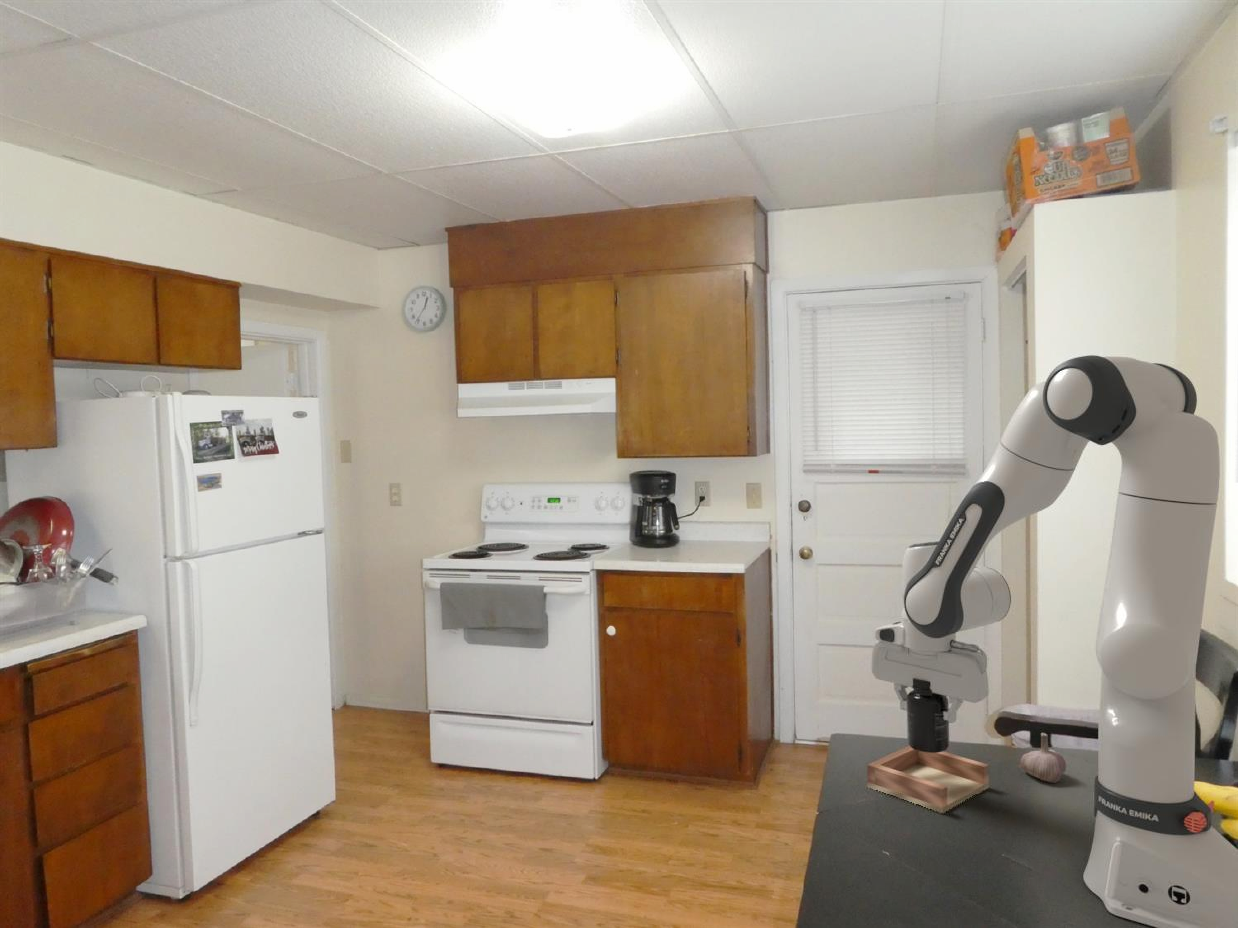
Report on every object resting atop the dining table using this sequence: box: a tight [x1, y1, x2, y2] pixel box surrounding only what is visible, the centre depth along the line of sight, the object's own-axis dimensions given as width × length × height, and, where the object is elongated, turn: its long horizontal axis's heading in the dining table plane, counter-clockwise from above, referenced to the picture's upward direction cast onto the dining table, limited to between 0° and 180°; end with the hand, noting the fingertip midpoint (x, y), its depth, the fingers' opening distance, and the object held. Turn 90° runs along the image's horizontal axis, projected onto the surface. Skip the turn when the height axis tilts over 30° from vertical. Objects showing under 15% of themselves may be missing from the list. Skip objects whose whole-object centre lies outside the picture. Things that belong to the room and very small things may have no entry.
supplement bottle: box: [906, 678, 950, 753], centre depth 153 cm, size 7×7×12 cm
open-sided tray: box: [866, 745, 990, 814], centre depth 153 cm, size 14×15×4 cm
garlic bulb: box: [1019, 732, 1067, 784], centre depth 157 cm, size 8×7×8 cm
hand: (927, 715), depth 153 cm, fingers closed on supplement bottle, 7 cm apart
